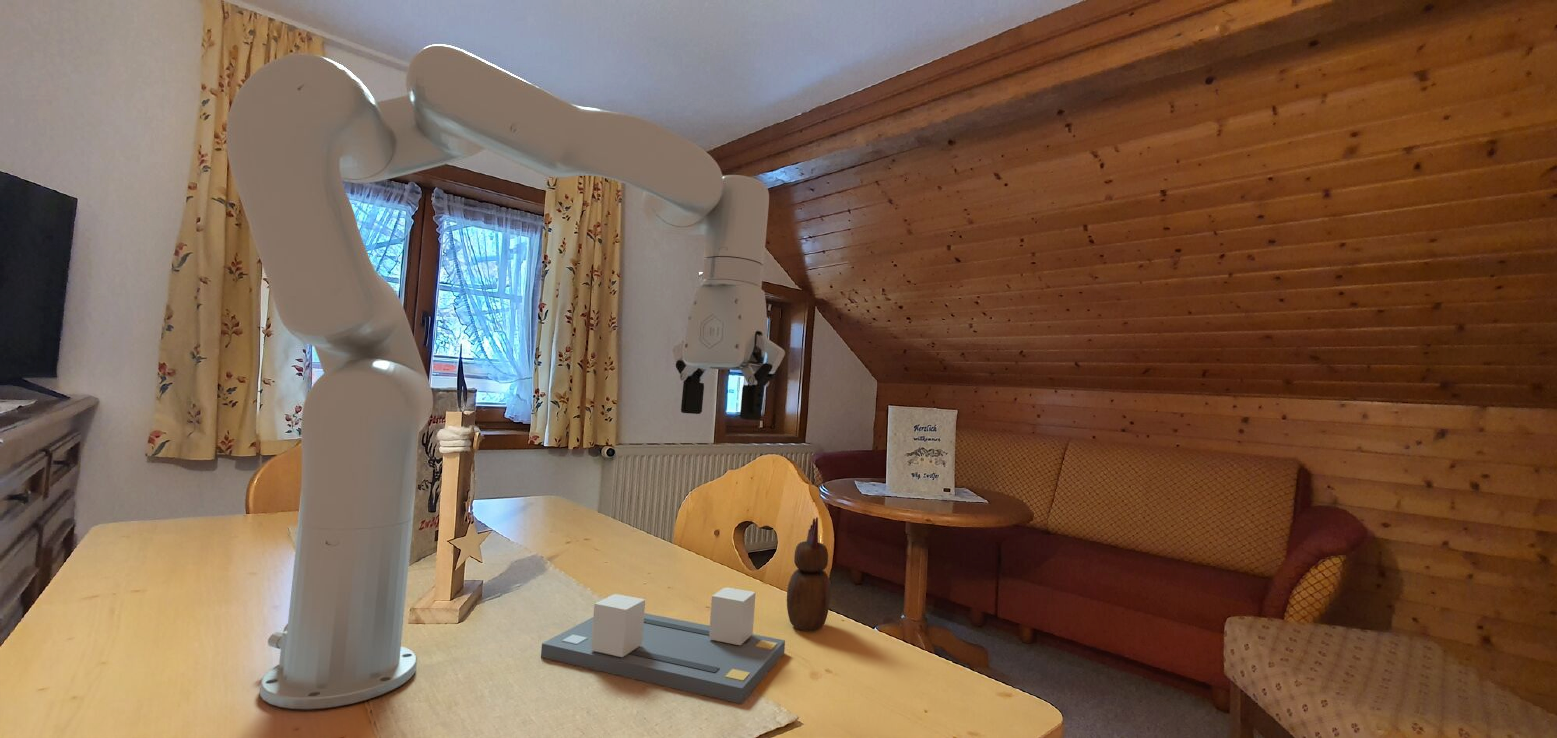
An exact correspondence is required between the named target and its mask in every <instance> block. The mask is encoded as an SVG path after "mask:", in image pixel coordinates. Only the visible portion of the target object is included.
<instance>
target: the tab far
mask: <svg viewBox="0 0 1557 738" xmlns="http://www.w3.org/2000/svg"><path fill="white" fill-rule="evenodd" d="M710 604H711V605H710V616H709V617H710V620H709V626H710V631H709V639H711V640H716V641H721V642H726V643H731V644H736V645H742V644H743V643H744V642H745V641H746V640H747V639H748V638H749V637H750V636H751V635H752V634H754V621H755V620H754V619H755V605H756V592H755V591H749V590H746V589H740V588H739V589H737V588H732V587H726V586H725V587H723V588H721V589H720V590H718V591H717V592H716V593H714V594H713V595H711V603H710Z"/></svg>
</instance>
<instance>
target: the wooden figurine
mask: <svg viewBox="0 0 1557 738" xmlns="http://www.w3.org/2000/svg"><path fill="white" fill-rule="evenodd" d="M809 526H810V527H809V528H808V531H807V535H806V536H807V537H806V540H805V541H802V542H801V541H800V542H799V543H798V544H797V545H796V547H795V550H794V559H793V562H794V565H795V567H796V568H797V569H795V571H793V573H792V574H791V576H790V577H789V581H788V584H787V591H786V610H787V615H788V619H789V622H790V624H791V625H792V626H793V627H794V628H796V629H797V630H801V631H806V632H812V631H813V632H814V631H817V630H820V629H821V628H822V627H823V626H824V625H825V623H826V621H827V618H828V614H829V611H830V605H831V604H830V603H831V595H832V594H831V591H832V590H831V580H830V578H829V576H828V574H827V572H826V571H824V570H826V568H827V566H828V565H829V564H828V563H829V553H828V552H829V551H828V548H827V547H826V545H825V544H824V543H821V542H819V517H817V516H816V517H815V518H813V519H812V524H810V525H809Z"/></svg>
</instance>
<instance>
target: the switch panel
mask: <svg viewBox="0 0 1557 738" xmlns="http://www.w3.org/2000/svg"><path fill="white" fill-rule="evenodd" d="M592 628H593V616H592V617H590V618H589V619H587V620H585V621H583V622H581V623H578V624H577V625H575V626H573V627H571V628H569V629H568V630H565V631H563V632H561V633H559V634H557V635H555V636H553V637H552V638H550V639H548V640H546V641H544V642H542V643H541V651H540V658H543V659H548V660H551V661H556V662H561V663H565V664H568V665H573V666H577V667H581V668H585V669H590V670H594V671H597V672H603V673H606V674H612V675H615V676H619V677H625V678H629V679H632V680H637V681H642V682H644V683H645V682H646V683H650V684H655V685H659V686H663V687H668V688H671V689H677V690H679V691H680V690H681V691H685V692H689V693H693V694H697V695H702V696H707V697H710V698H715V699H720V700H722V701H723V700H724V701H727V702H731V703H735V704H742V703H744V701H745V700H746V699H747V697H748V696H750V694H751V693H752V692H753V691H754V690H755V688H756V687H757V686H758V685H759V684H760V682H761V681H762V680H763V679H764V678H765V676H766V675H768V673H769V672H770V670H771V669H773V667H774V666H775V665H776V663H777V662H778V661H779V660H780V659H781V658H782V657H783V655H784V654H785V649H786V640H785V639H779V638H775V637H770V636H766V635H759V634H755V633H753V634H752V635H751V636H750V637H749V638H748V639H747V640H746V641H745V642H744V643H743V644H742V645H736V644H731V643H726V642H721V641H716V640H711V639H709V631H710V624H709V625H708V624H702V623H697V622H692V621H687V620H682V619H676V618H671V617H666V616H661V615H656V614H651V613H646V612H644V624H643V638H642V645H640V646H639V647H637V648H636V649H634V650H633V651H631V652H630V653H628V654H627V655H625V656H624V657H619V656H614V655H610V654H605V653H601V652H596V651H592V650H591V640H592ZM749 693H750V694H749Z"/></svg>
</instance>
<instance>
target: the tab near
mask: <svg viewBox="0 0 1557 738" xmlns="http://www.w3.org/2000/svg"><path fill="white" fill-rule="evenodd" d="M645 610H646V599H645V598H640V597H639V598H638V597H634V596H628V595H623V594H619V593H614V594H611V595H609V596H608V597H605V598H603V599H601V600H599V601H597V602H595V603H594V605H593V616H592V617H593V628H592V640H591V650H592V651H596V652H601V653H605V654H610V655H614V656H619V657H624V656H625V655H627V654H628V653H630V652H631V651H633V650H634V649H636V648H637V647H639V646H640V645H642V638H643V624H644V613H645Z"/></svg>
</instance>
